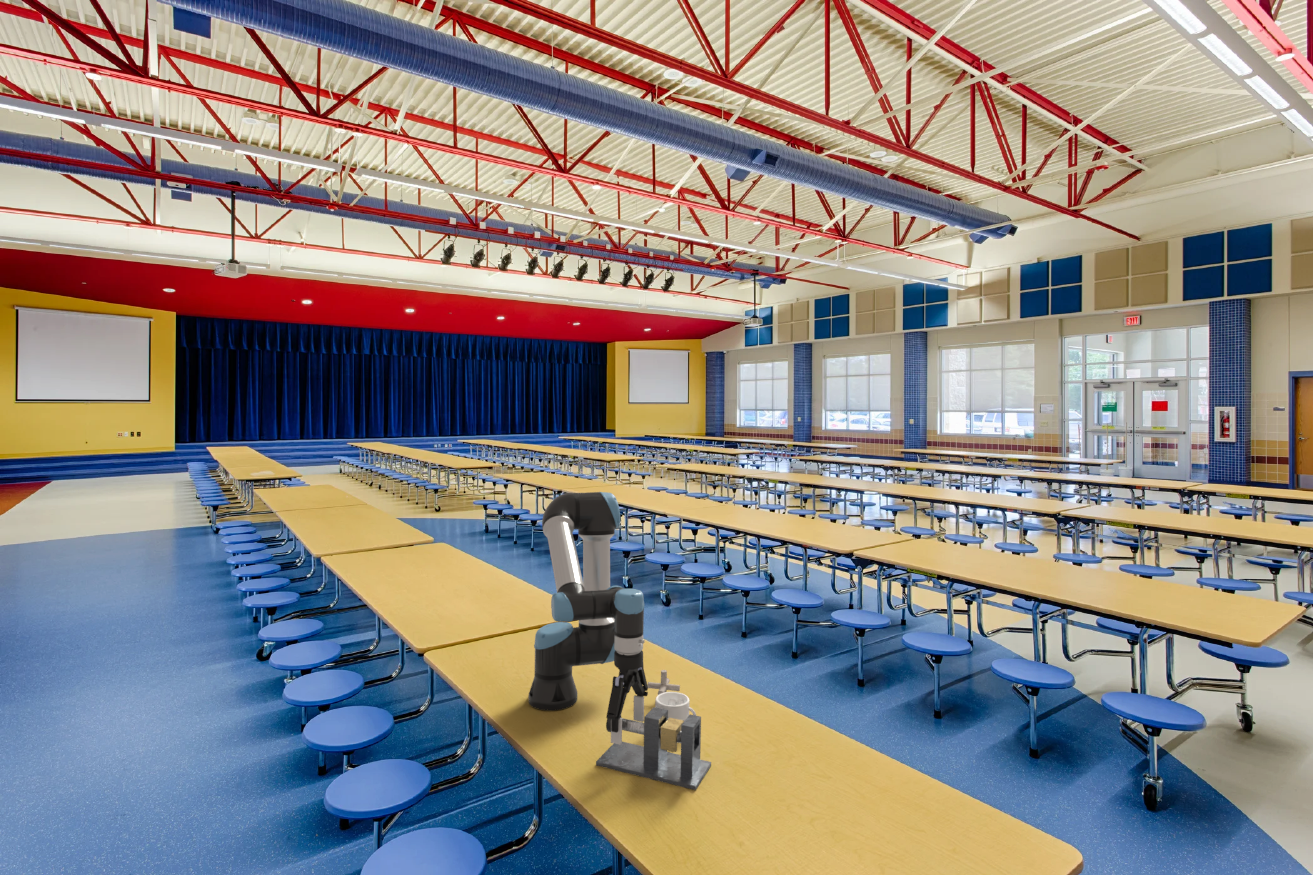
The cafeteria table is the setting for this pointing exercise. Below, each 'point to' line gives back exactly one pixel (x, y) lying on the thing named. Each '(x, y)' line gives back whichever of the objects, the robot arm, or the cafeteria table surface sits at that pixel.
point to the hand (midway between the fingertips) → (627, 731)
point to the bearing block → (661, 754)
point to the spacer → (670, 734)
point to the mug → (674, 705)
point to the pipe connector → (663, 684)
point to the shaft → (635, 727)
